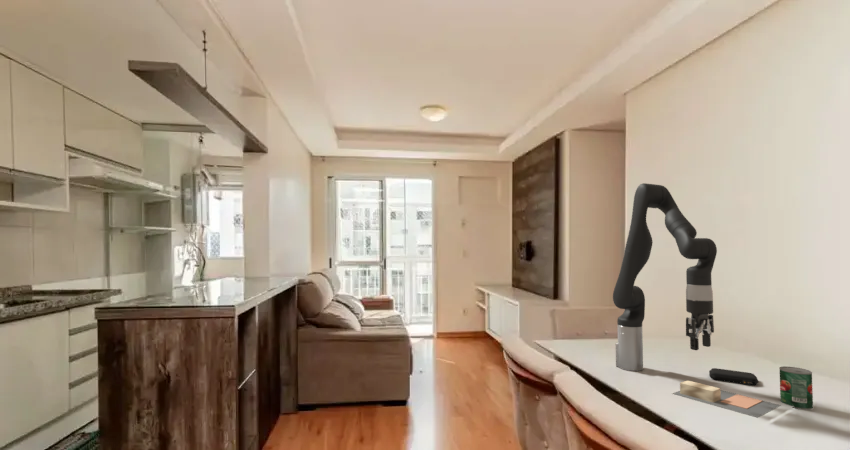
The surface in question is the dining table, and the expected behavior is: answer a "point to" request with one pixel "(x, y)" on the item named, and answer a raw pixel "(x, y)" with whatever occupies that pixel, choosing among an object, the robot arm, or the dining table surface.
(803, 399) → the canned tomato
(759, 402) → the mat
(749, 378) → the carrying case or bag
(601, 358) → the dining table surface
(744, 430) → the dining table surface
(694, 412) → the dining table surface
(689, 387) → the block
